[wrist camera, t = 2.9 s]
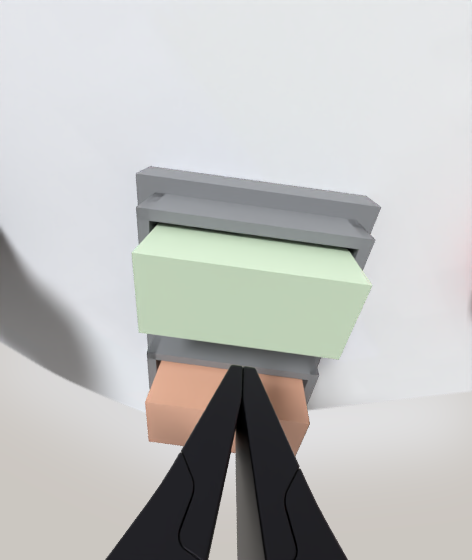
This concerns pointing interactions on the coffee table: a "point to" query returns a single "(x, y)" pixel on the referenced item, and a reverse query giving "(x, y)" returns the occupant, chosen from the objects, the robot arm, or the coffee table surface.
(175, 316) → the sage button
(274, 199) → the button panel
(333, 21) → the coffee table surface
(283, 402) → the orange brown block
